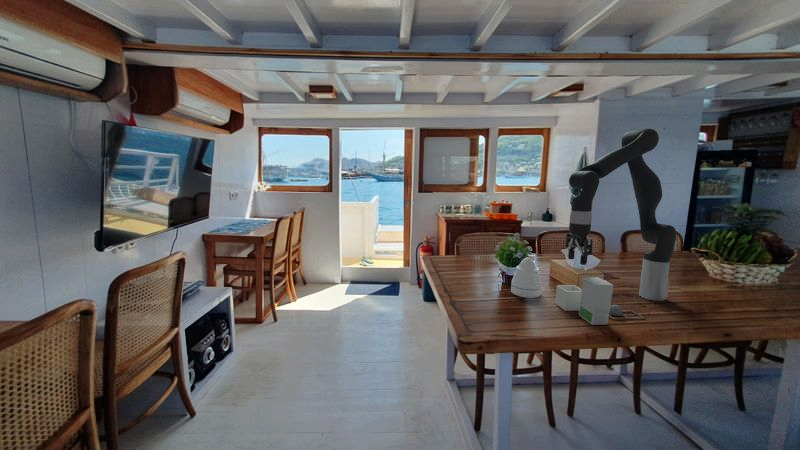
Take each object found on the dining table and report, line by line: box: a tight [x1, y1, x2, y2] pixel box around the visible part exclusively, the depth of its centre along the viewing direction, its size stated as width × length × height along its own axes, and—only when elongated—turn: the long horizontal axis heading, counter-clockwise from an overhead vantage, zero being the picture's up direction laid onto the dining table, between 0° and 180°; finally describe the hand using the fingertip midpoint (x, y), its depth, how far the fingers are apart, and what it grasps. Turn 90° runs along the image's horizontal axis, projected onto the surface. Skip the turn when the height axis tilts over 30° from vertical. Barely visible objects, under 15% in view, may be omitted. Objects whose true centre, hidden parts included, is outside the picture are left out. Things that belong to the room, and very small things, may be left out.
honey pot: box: [510, 254, 542, 299], centre depth 149 cm, size 13×13×18 cm
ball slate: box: [609, 304, 623, 317], centre depth 126 cm, size 4×4×4 cm
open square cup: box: [554, 284, 582, 312], centre depth 134 cm, size 8×8×8 cm
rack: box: [609, 309, 646, 321], centre depth 126 cm, size 13×7×1 cm, turn 93°
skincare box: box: [578, 276, 614, 326], centre depth 121 cm, size 8×7×16 cm
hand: (576, 261), depth 131 cm, fingers open, 8 cm apart
